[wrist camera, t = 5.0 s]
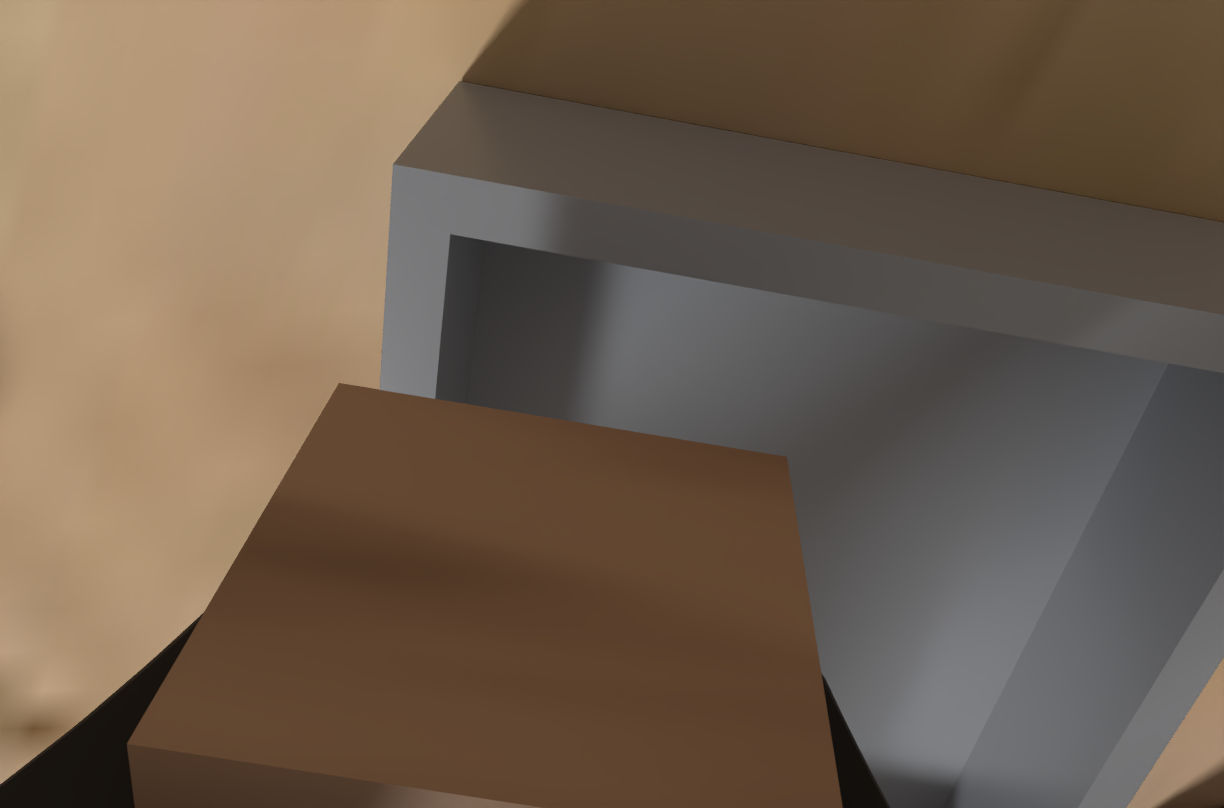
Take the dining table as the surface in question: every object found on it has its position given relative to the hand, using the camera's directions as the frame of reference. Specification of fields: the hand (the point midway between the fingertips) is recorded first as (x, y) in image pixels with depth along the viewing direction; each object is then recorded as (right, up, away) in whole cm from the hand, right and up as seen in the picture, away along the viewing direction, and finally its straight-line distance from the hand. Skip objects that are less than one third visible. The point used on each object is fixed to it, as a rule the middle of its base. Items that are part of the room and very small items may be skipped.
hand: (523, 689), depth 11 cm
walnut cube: (0, +1, +1) cm, 2 cm away
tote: (+4, 0, +10) cm, 11 cm away
